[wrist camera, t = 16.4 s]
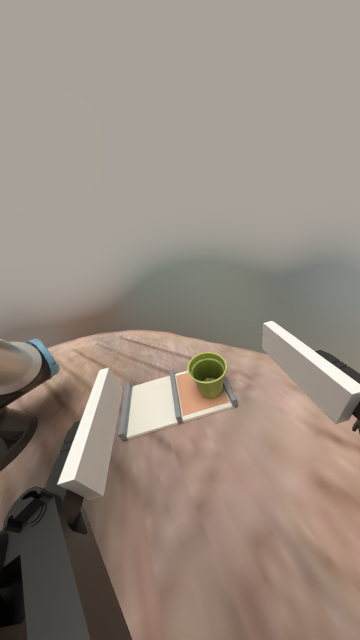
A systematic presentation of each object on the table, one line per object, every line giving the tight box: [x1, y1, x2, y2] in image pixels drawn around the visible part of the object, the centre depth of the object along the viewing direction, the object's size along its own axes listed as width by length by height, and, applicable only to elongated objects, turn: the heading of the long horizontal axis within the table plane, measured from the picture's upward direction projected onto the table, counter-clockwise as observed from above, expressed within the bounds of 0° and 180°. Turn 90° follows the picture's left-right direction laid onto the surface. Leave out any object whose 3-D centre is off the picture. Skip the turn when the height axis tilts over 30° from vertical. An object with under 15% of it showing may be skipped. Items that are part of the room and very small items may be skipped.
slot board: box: [118, 370, 237, 441], centre depth 43 cm, size 28×14×3 cm, turn 100°
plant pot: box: [187, 352, 227, 399], centre depth 40 cm, size 9×9×9 cm
